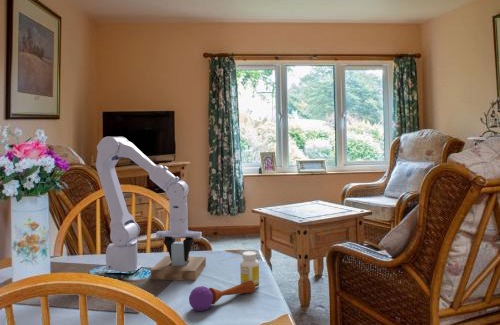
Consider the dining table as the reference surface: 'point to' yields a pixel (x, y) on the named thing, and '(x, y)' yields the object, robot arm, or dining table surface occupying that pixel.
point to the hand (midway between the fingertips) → (179, 260)
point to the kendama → (216, 295)
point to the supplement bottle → (249, 268)
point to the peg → (178, 254)
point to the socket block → (178, 269)
